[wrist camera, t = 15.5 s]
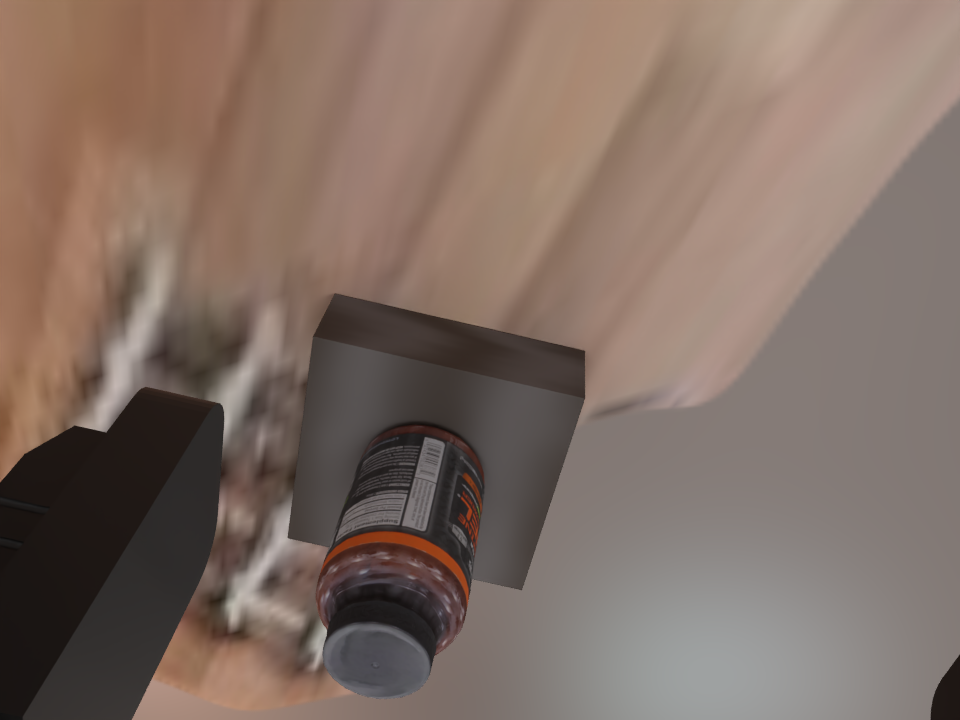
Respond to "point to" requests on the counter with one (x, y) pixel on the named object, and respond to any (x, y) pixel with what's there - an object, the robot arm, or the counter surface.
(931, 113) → the counter surface
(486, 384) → the riser
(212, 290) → the counter surface
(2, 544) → the robot arm
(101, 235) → the counter surface
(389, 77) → the counter surface
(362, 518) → the supplement bottle
